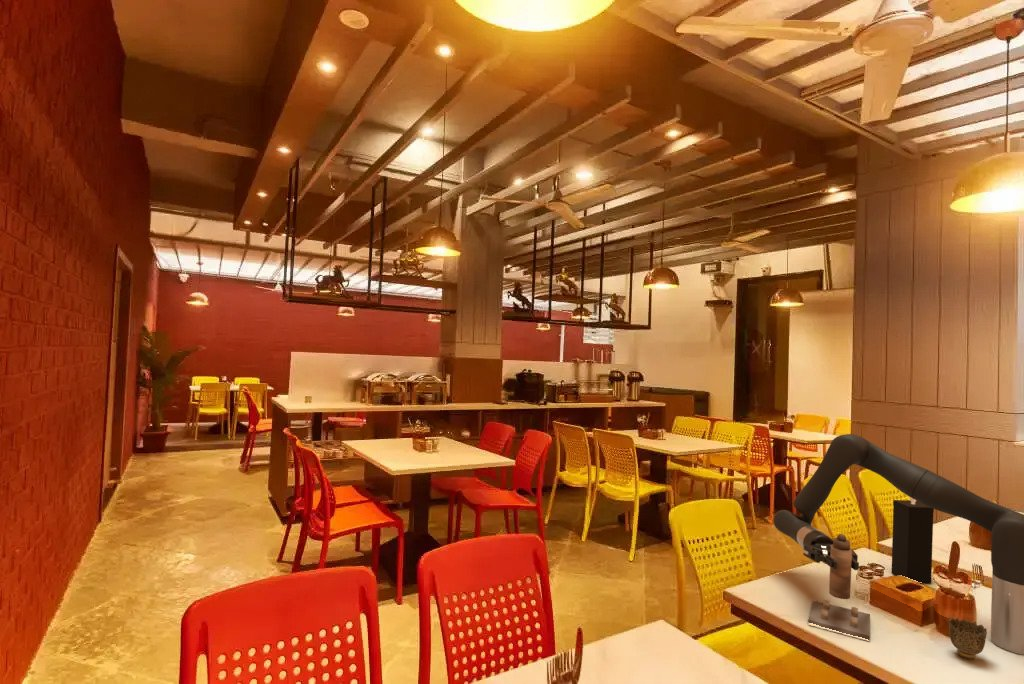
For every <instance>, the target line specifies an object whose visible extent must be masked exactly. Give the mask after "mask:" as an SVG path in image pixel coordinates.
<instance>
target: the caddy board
mask: <svg viewBox="0 0 1024 684" xmlns="http://www.w3.org/2000/svg"><path fill="white" fill-rule="evenodd" d="M808 622H809V623H813V624H816V625H819V626H821V627H825V628H829V629H832V630H836V631H839V632H842V633H846V634H850V635H853V636H858V637H862V638H865V639H868V640H870V637H871V633H870V632H871V614H870V613H867V612H864V611H859V608H857V607H856V606H851V608H846V607H843V606H842V607H841V606H839V605H834V604H831V602H830V601H829V600H827V599H823V600H822V601H818V600H812V603H811V607H810V611H809V616H808V619H807V623H808Z"/></svg>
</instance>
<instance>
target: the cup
mask: <svg viewBox="0 0 1024 684" xmlns="http://www.w3.org/2000/svg"><path fill="white" fill-rule="evenodd" d="M947 621H948V630H949V631H948V632H949V633H948V634H949V638H950V639H949V640H950V641H951V644H952V645H953V647H955V648H956V653H957V655H958V656H959V657H961V658H963V659H964V658H965V660H968V661H974V660H976V658H977V655H978V654H980V653H982V652H983V650H984V648H985V644H986V641H987V640H986V639H987V634H988V629H987V628H986V627H984V625H983V624H977V622H976V621H973V623H972V622H971V620H970V619H967V620H966V619H965V618H962V619H961V620H960V619H959V618H958V617H956V618H953V617H950V618H949V619H947Z"/></svg>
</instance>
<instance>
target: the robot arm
mask: <svg viewBox="0 0 1024 684" xmlns="http://www.w3.org/2000/svg"><path fill="white" fill-rule="evenodd" d="M853 465H856V466H859V467H862V468H864V469H865V470H868V471H871V472H873V473H875V474H877V475H878V476H880V477H882V478H884V479H885V480H886V481H887V482H888V483H890V484H891V485H892V486H893V487H895V488H896V489H897V490H898V491H899V492H901V493H903V494H904V495H905V496H908V497H909V498H910V497H911V498H913V499H915V500H916V501H919V502H921V503H922V504H924V505H926V506H929V507H931V508H933V509H934V510H936V511H939V512H942V513H945V514H948V515H952V516H955V517H958V518H961V519H964V520H967V521H969V522H971V523H973V524H975V525H977V526H979V527H981V528H983V529H985V530H987V531H988V532H990V533H991V538H990V539H991V540H990V541H991V542H990V543H991V545H990V549H991V550H990V561H991V566H992V573H991V574H992V575H991V576H992V577H991V604H990V606H991V607H990V630H989V634H990V641H991V643H993V644H994V645H996V646H997V647H1000V648H1002V649H1003V650H1006V651H1009V652H1012V653H1015V654H1018V655H1023V656H1024V513H1021V512H1018V511H1016V510H1012V509H1011V508H1009V507H1006V506H1003V505H1001V504H998V503H996V502H992V501H991V500H988V499H986V498H984V497H981V496H980V495H977V494H976V493H974V492H972V491H971V490H969V489H967V488H965V487H963V486H961V485H959V484H957V483H955V482H953V481H951V480H950V479H947V478H946V477H943V476H942V475H941V474H937V473H935V472H934V471H931V470H929V469H927V468H924V467H922V466H920V465H918V464H915V463H913V462H911V461H908V460H906V459H904V458H901V457H899V456H896V455H894V454H892V453H889V452H888V451H886V450H884V449H883V448H881V447H879V446H877V445H876V444H874V443H872V442H871V441H869V440H867V439H866V438H864V437H862V436H860V435H858V434H854V433H845V434H840V435H838V436H835V438H833V439H832V441H831V442H830V444H829V447H828V448H827V450H826V452H825V455H824V456H823V458H822V461H821V462H820V464H819V465H818V467H817V469H816V470H815V472H814V474H812V476H811V477H810V478H809V480H808V481H807V483H805V485H804V486H803V487H802V489H801V490H800V491H799V493H798V494H797V495H796V497H795V498H794V500H793V506H794V508H795V509H796V510H797V511H798V512H799V513H800V515H797V514H795V513H793V512H791V511H790V510H787V509H781V510H778V511H777V512H775V514H774V516H773V521H772V522H773V525H774V528H775V529H776V530H777V531H779V532H780V533H782V534H784V535H785V536H788V537H789V538H791V539H792V540H793V541H794V542H795V543H797V544H798V545H799V546H800V547H801V548H802V550H803V553H802V555H803V556H804V557H806V558H808V559H809V560H811V561H813V562H814V563H818V564H820V563H821V562H822V564H824V565H827V566H828V567H829V568H830V567H831V568H833V569H837V562H836V561H835V560H834V559H833V558H831V557H830V555H831V545H833V539H832V538H831V537H830V536H829V535H827V534H826V533H824V532H823V531H822V530H820V529H818V528H816V527H814V526H813V525H812V523H813V520H814V518H815V516H816V514H817V512H818V510H820V508H822V506H823V504H824V503H825V502H826V500H827V499H828V498H829V496H830V494H831V492H832V490H833V488H834V487H835V486H834V485H835V484H836V482H837V481H838V479H839V478H840V477H841V476H842V475H843V474H844V473H845V472H846V471H847V470H848V469H849V468H851V467H852V466H853ZM851 549H852V564H851V570H852V569H853V570H854V571H858V570H859V569H860V563H859V561H858V557H859V555H858V554H857V552H855V551H854V549H853V548H851Z"/></svg>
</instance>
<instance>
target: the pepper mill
mask: <svg viewBox="0 0 1024 684" xmlns="http://www.w3.org/2000/svg"><path fill="white" fill-rule="evenodd" d="M832 540H833V545H831V555H830V557H831V558H833V559H834V560H835V561H836V562H837V569H833V568H831V567H830V566H829V582H828V583H829V584H828V585H829V587H828V594H829V595H831V596H832V597H834V598H837V599H841V600H849V599H850V598H851V588H852V587H851V586H852V568H851V564H852V549H853V548H851V541H850V540H848V539H847V536H846V535H845V534H843V533H840V534H838V535H836V537H833V539H832Z"/></svg>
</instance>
